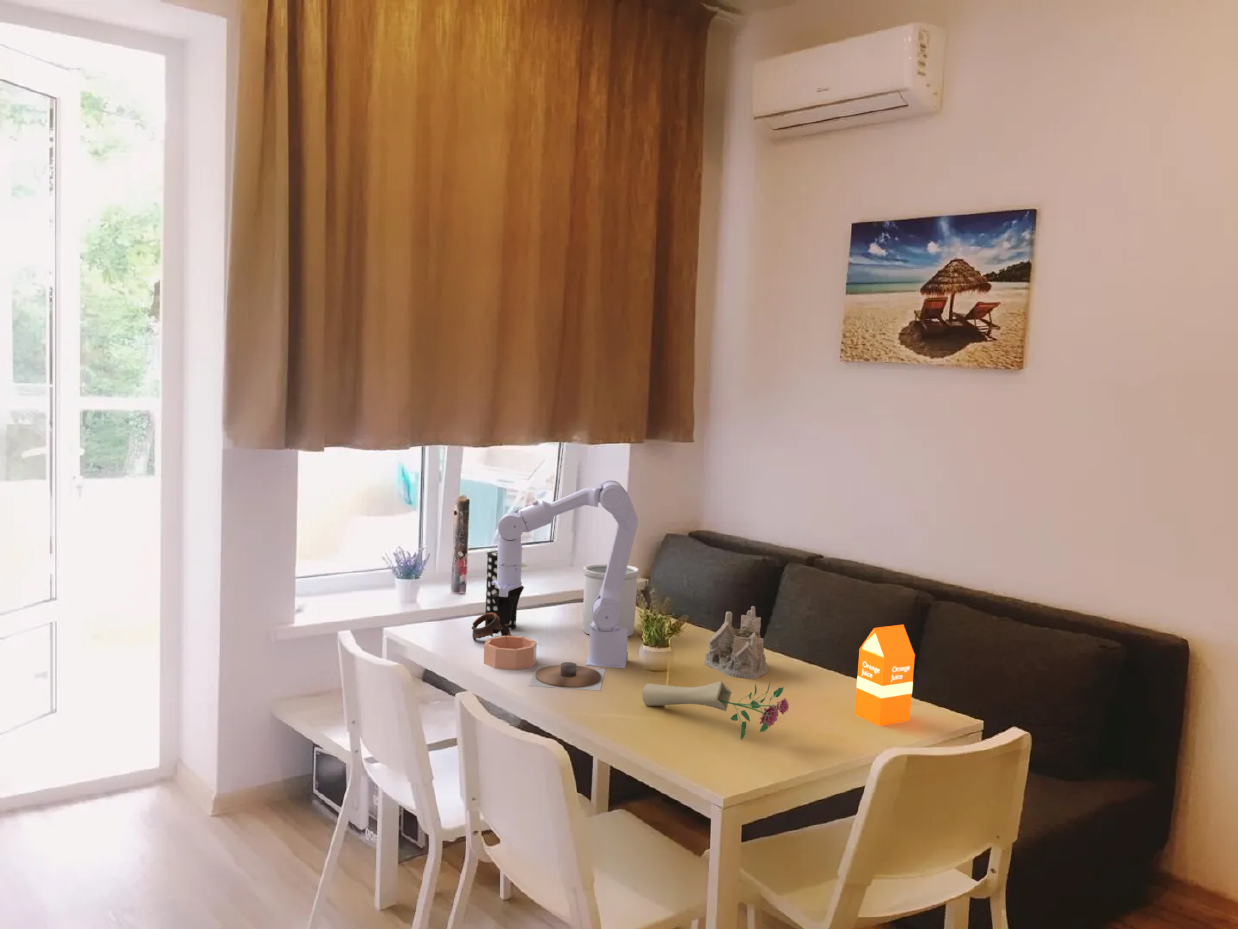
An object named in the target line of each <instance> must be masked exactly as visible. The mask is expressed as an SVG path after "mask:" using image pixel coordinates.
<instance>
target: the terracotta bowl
mask: <svg viewBox="0 0 1238 929" xmlns="http://www.w3.org/2000/svg"><path fill="white" fill-rule="evenodd" d="M537 644H538V641H537V640H534V639H531V638H528V637H526V636H520V635H519V636H518V635H517V636H516V635H511V636H501V635H499V636H493V637H489V638H487V640H486V641H485V642H484V644H483V664H485V665H487V666H489V667H491V668H494V669H497V670H511V671H512V670H514V671H516V670H517V671H518V670H521V669H526V668H532V667H534V665H535V663H536V662H537Z"/></svg>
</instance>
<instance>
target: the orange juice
mask: <svg viewBox="0 0 1238 929" xmlns="http://www.w3.org/2000/svg"><path fill="white" fill-rule="evenodd" d="M858 653H859V654H858V666H857V677H856V693H855V704H854V705H855V706H854V707H855V708H854V715H855V716H857V717H859V718H861V719H864V720H866V721H868V722H870V723H872V724H874V725H876V726H879V727H880V726H881V727H882V726H887V725H893V724H898V723H903V722H904V723H905V722H909V721H911V718H910V717H911V707H912V706H911V705H912V694H913V687H914V668H915V658H916V654H915V652H914V649H913V647H912V644H911V642H910V638H909V636H908V633H907V631H906V628H905V624H897V625H889V626H888V625H887V626H879V627H874V628H873V629H872V631H871V632H870V633H869V635H868V636H867V638H866V639H865V640H864V642H863V643H862V645H861V646H860V648H859V650H858Z"/></svg>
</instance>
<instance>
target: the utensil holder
mask: <svg viewBox="0 0 1238 929" xmlns="http://www.w3.org/2000/svg"><path fill="white" fill-rule="evenodd" d="M607 565H608V563H591V564H586V565H585V566H583V571H582V572H583V575H584V576H583V602H582V603H583V605H582V606H583V608H582V609H583V610H582V611H583V613H582V615H583V620H582V622H583V623H582V627H583V628H582V629H583V630H582V631H583V633H584V634H586V635H588V634H589V635H588V636H590V624H591V623H592V622H593V621H594V619H593V612H592V605H593V602H594V601H595V600H596V599H597V597H598V596H599V593H600V589H601V587H602V585H603V581H604V577H605V573H606V569H607ZM639 571H640V570H639V568H638V567H636V566H633V565H627V569H626V573H625V577H624V581H623V585H622V589H621V595H620V603H619V608H618V609H619V614H620V620H619V624H620V628H625V629H628V637H630V636H633V634H634V632H635V620H636V619H635V618H636V610H637V609H636V606H637V593H638V592H637V591H638V590H637V587H638V576H639Z"/></svg>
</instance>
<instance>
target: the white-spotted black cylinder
mask: <svg viewBox="0 0 1238 929" xmlns="http://www.w3.org/2000/svg"><path fill="white" fill-rule="evenodd" d="M486 561H487V562H486V588H485V589H486V590H485V591H486V592H485V613H484V614H487V613H496V614H497V615H498V609H497V606H496V603H495V601H494V599H493V594H494V593H495V594H499V589H498V587H497V586H496V585H492V581H494V580H497V561H498V550H494V551H489V552H487V559H486ZM517 614H518V612H517V610H516V614H515V616H511V620H510V623H509V624H507V625H508V627H509V630H510V631H512V630H515V629H516V628H517ZM498 616H499V615H498ZM487 625H488V624H487V623H486V620H485V621H484V627H485V626H487Z"/></svg>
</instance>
